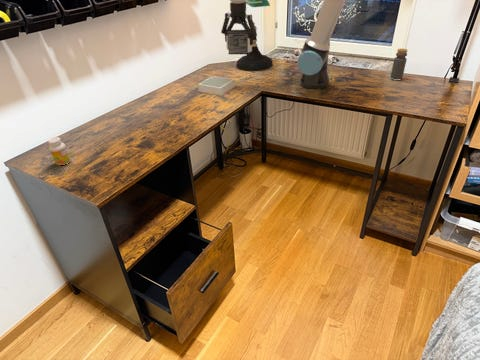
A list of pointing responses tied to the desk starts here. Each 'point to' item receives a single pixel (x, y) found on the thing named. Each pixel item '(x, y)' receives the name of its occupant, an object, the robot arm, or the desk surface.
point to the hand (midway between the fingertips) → (239, 50)
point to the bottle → (399, 64)
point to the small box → (238, 42)
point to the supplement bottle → (59, 151)
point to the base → (216, 85)
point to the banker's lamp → (255, 48)
